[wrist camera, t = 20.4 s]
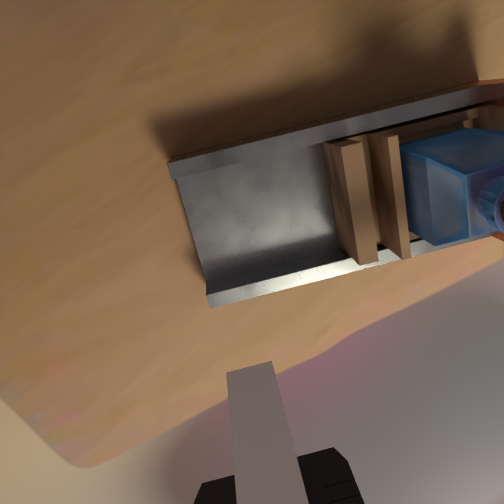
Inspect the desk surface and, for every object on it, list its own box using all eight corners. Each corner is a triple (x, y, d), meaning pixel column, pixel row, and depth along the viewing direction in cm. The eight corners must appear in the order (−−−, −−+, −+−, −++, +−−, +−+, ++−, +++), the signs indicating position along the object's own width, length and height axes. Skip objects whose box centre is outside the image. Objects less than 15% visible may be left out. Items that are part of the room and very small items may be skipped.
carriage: (321, 141, 35) (344, 148, 29) (465, 105, 35) (516, 105, 29) (339, 244, 38) (363, 269, 32) (472, 211, 38) (518, 229, 32)
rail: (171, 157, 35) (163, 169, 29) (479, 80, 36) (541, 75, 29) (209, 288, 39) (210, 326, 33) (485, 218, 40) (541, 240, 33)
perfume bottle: (469, 203, 36) (592, 250, 24) (396, 223, 35) (486, 278, 24) (464, 127, 33) (596, 139, 22) (386, 147, 33) (480, 169, 22)
